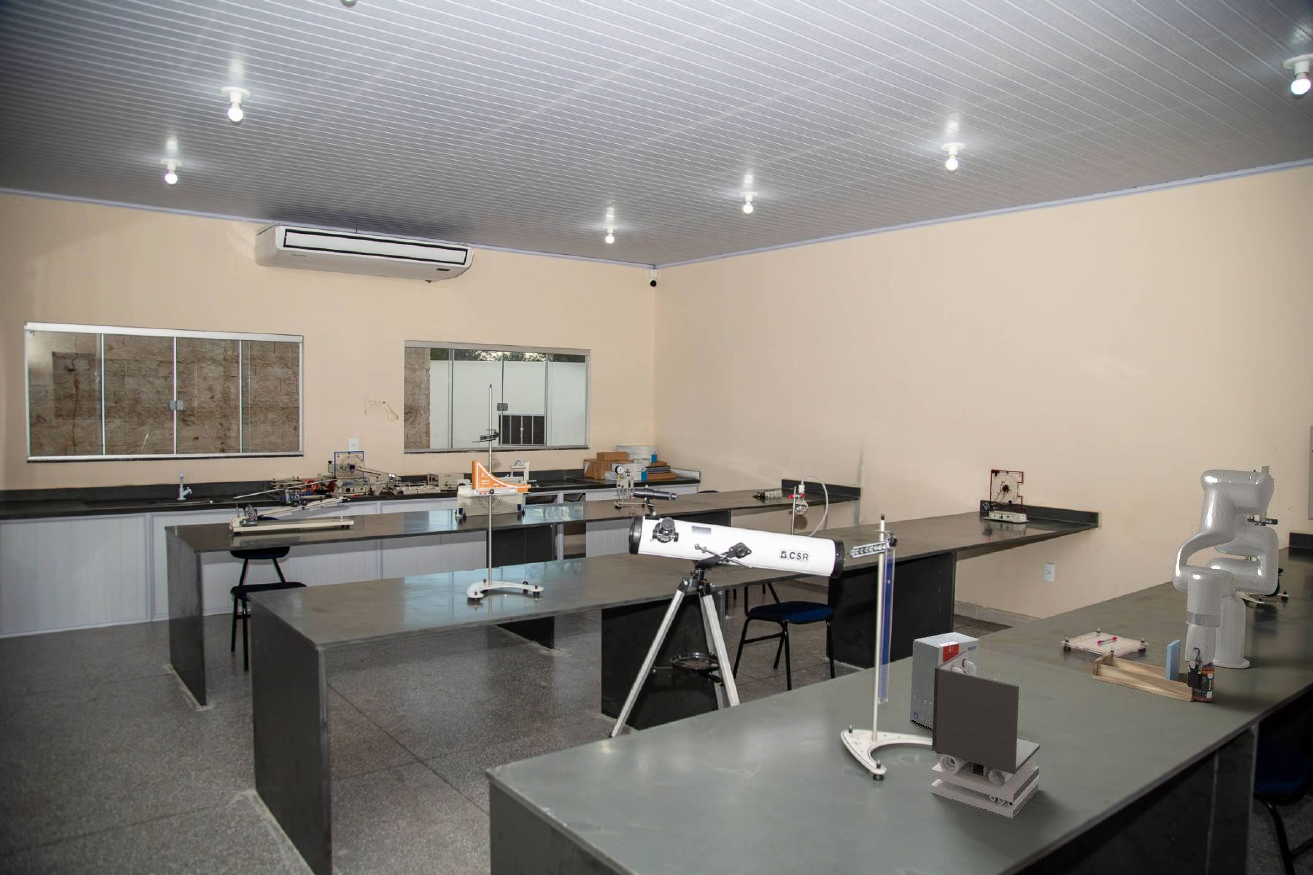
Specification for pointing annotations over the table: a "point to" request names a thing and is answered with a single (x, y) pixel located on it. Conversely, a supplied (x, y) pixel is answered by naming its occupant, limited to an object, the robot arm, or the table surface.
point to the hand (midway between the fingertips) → (1200, 683)
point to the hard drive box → (923, 669)
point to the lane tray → (1140, 677)
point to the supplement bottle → (1205, 684)
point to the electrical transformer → (980, 740)
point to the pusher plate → (1173, 661)
